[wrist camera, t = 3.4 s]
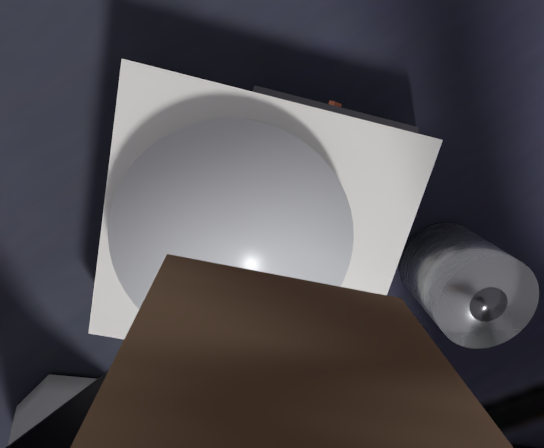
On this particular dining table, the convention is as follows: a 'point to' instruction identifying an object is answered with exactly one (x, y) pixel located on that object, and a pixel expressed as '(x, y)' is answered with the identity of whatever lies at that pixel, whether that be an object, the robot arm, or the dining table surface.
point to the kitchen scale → (250, 188)
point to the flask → (45, 401)
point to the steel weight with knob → (468, 285)
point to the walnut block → (278, 370)
